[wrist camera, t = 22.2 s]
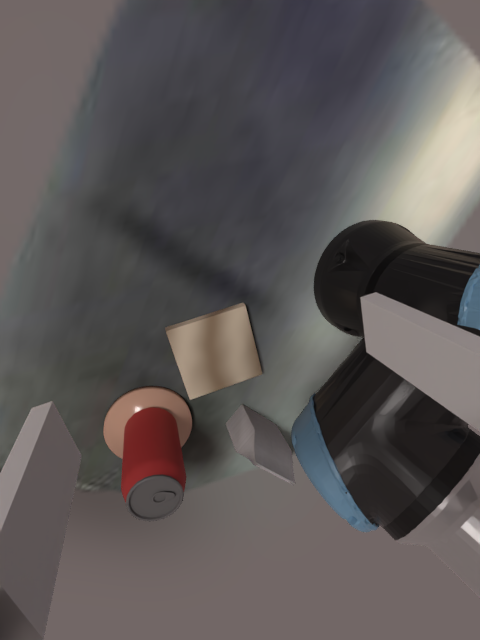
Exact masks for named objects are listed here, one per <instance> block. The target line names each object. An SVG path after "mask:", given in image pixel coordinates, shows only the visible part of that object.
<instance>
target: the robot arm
mask: <svg viewBox="0 0 480 640" xmlns="http://www.w3.org/2000/svg"><path fill="white" fill-rule="evenodd" d="M314 294H315V299H316V303H317V306H318V308H319V310H320V312H321V313H322V315H323V316H324V317H325V319H326V320H327V321H328V322H330V323H331V324H332V325H334V326H335V327H337V328H338V329H340V330H341V331H343V332H345V333H348V334H350V335H354V336H360V337H364V338H363V339H362V340H361V341H360V342H359V344H358V345H357V346H356V347H355V348H354V350H353V351H352V352H351V353H350V355H349V356H348V357H347V358H346V359H345V360H344V362H343V363H342V364H341V365H340V366H339V368H338V369H337V370H336V371H335V372H334V373H333V375H332V376H331V377H330V378H329V379H328V380H327V382H326V383H325V384H324V385H323V386H322V387H321V389H320V390H319V391H318V392H317V393H314V394H313V395H312V396H311V397H310V401H309V403H308V404H307V406H306V407H305V408H304V410H303V411H302V412H301V414H300V415H299V416H298V418H297V419H296V420H295V422H294V424H293V426H292V432H291V438H292V444H293V447H294V449H295V453H296V456H297V458H298V460H299V462H300V464H301V466H302V467H303V469H304V471H305V473H306V474H307V476H308V478H309V479H310V481H311V482H312V484H313V485H314V486H315V488H316V489H317V490H318V492H319V493H320V494H321V496H322V497H323V498H324V499H325V501H326V502H327V503H328V504H329V505H330V507H332V509H333V510H334V511H335V512H336V513H337V514H338V515H339V516H340V517H342V518H343V519H346V520H347V521H348V522H349V524H350V525H351V526H352V527H354V528H355V529H357V530H359V531H362V532H370V531H371V530H376V529H377V528H378V527H379V525H380V526H381V527H383V528H384V529H385V530H386V531H387V532H388V533H389V534H390V535H391V536H392V537H393V538H394V539H395V540H396V541H397V542H398V543H401V544H412V545H423V546H425V547H428V548H429V549H430V550H431V551H432V552H433V553H434V554H435V555H436V556H437V557H438V558H439V559H440V560H441V561H442V562H443V563H444V564H445V565H446V566H448V568H450V570H451V571H453V572H454V573H455V574H456V575H457V576H458V577H459V578H460V579H461V580H462V581H463V582H464V583H465V584H466V585H467V586H468V587H469V588H470V589H471V590H472V591H473V592H474V593H475V594H476V595H477V596H478V597H479V598H480V436H479V435H477V434H476V433H475V432H473V431H472V430H471V429H469V428H468V424H469V425H471V426H472V427H474V428H475V429H476V430H478V431H479V432H480V253H475V252H470V251H464V250H459V249H453V248H447V247H442V246H436V245H430V244H426V243H425V242H423V241H422V240H420V239H419V238H418V237H416V236H415V235H414V234H413V233H412V232H410V231H409V230H408V229H407V228H405V227H403V226H401V225H399V224H396V223H393V222H387V221H379V220H368V221H363V222H359V223H356V224H354V225H352V226H350V227H348V228H346V229H345V230H343V231H342V232H341V233H339V234H338V235H337V236H336V237H335V238H334V239H333V240H332V241H331V242H330V244H329V245H328V246H327V248H326V249H325V251H324V252H323V254H322V256H321V258H320V260H319V263H318V265H317V269H316V272H315V278H314ZM80 461H81V454H80V452H79V450H78V448H77V446H76V444H75V442H74V441H73V439H72V437H71V435H70V433H69V431H68V429H67V427H66V426H65V424H64V422H63V420H62V418H61V416H60V414H59V412H58V410H57V409H56V407H55V405H54V403H53V401H51V402H48V403H45V404H42V405H39V406H36V407H33V408H32V409H31V411H30V413H29V415H28V417H27V419H26V421H25V423H24V425H23V427H22V429H21V431H20V433H19V436H18V438H17V440H16V442H15V444H14V446H13V448H12V450H11V452H10V454H9V456H8V458H7V460H6V463H5V465H4V467H3V469H2V471H1V473H0V640H43V639H44V633H45V629H46V625H47V619H48V615H49V610H50V605H51V600H52V595H53V591H54V586H55V581H56V576H57V572H58V566H59V562H60V557H61V552H62V547H63V543H64V538H65V533H66V528H67V523H68V519H69V513H70V509H71V504H72V499H73V495H74V490H75V485H76V480H77V475H78V470H79V466H80Z"/></svg>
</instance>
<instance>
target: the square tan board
mask: <svg viewBox="0 0 480 640" xmlns="http://www.w3.org/2000/svg"><path fill="white" fill-rule="evenodd" d="M165 329H166V333H167V336H168V339H169V342H170V344H171V347H172V350H173V353H174V356H175V359H176V362H177V364H178V367H179V370H180V373H181V376H182V379H183V382H184V384H185V387H186V390H187V393H188V396H189V399H190V400H191V399H194V398H197V397H200V396H203V395H205V394H208V393H211V392H214V391H217V390H219V389H222V388H225V387H228V386H231V385H233V384H236V383H239V382H242V381H245V380H247V379H250V378H253V377H256V376H259V375H261V374H262V370H261V366H260V362H259V358H258V354H257V350H256V346H255V342H254V338H253V334H252V330H251V326H250V322H249V318H248V313H247V309H246V305H245V304H244V303H240V304H237V305H234V306H231V307H228V308H225V309H222V310H219V311H215V312H212V313H209V314H206V315H203V316H200V317H197V318H194V319H191V320H187V321H184V322H181V323H178V324H175V325H172V326H169V327H166V328H165Z"/></svg>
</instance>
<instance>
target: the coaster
mask: <svg viewBox="0 0 480 640" xmlns="http://www.w3.org/2000/svg"><path fill="white" fill-rule="evenodd" d="M146 408H161V409H164V410H166V411H168V412H169V413H171V414H172V415H173V417H174V418H175V419H176V422H177V427H178V433H179V438H180V444H181V447H182V446H183V445H184V444H185V442H186V441H187V439H188V437H189V435H190V432H191V428H192V417H191V413H190V409H189V407H188V404H187V403H186V401H185V400H184V399H183V398H182V397H181V396H180V395H179V394H178V393H176V392H174V391H172V390H170V389H168V388H165V387H160V386H144V387H139V388H135V389H133V390H130V391H128V392H126V393H125V394H123V395H122V396H120V397H119V398H118V399H117V400H116V401H115V402H114V403H113V404H112V405H111V407H110V408H109V410H108V412H107V414H106V417H105V422H104V438H105V441H106V443H107V445H108V447H109V448H110V449H111V451H112V452H113V453H115V454H116V455H117V456H119V457H120V458H122V459H123V444H124V429H125V425H126V423H127V421H128V420H129V419H130V418H131V417H132V415H133V414H135V413H136V412H138V411H140V410H142V409H146Z"/></svg>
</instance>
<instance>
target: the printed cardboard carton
mask: <svg viewBox="0 0 480 640" xmlns="http://www.w3.org/2000/svg"><path fill="white" fill-rule="evenodd" d="M226 426H227V429H228V431H229V434H230V437H231V439H232V442H233V445H234V447H235V450H236V452H238V453H240V454H241V455H243V456H245V457H246V458H248V459H249V460H250V461H251V462H252V463H253V464H254V465H255V466H257V467H259V468H261V469H263V470H265V471H267V472H269V473H271V474H273V475H275V476H276V477H278V478H280V479H282V480H284V481H286V482H288V483H290V484H292V483H295V480H294V473H293V461H292V450H291V449H290V447H289V445H288V444H287V442H286V440H285V439H284V437H283V435H282V434H281V432H280V430H279V428H278V427H277V425H276V424H275V423H273V422H271V421H270V420H268V419H266V418H265V417H263V416H261V415H260V414H258V413H256V412H255V411H253V410H251V409H250V408H248V407H246V406H245V405H243V404H241V406H240V407H239V408H238V409H237V411H236V412H235V413H234V414H233V415H232V417H231V418H230V419H229V420H228V421H227V423H226ZM291 482H292V483H291ZM292 485H293V484H292Z"/></svg>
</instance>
